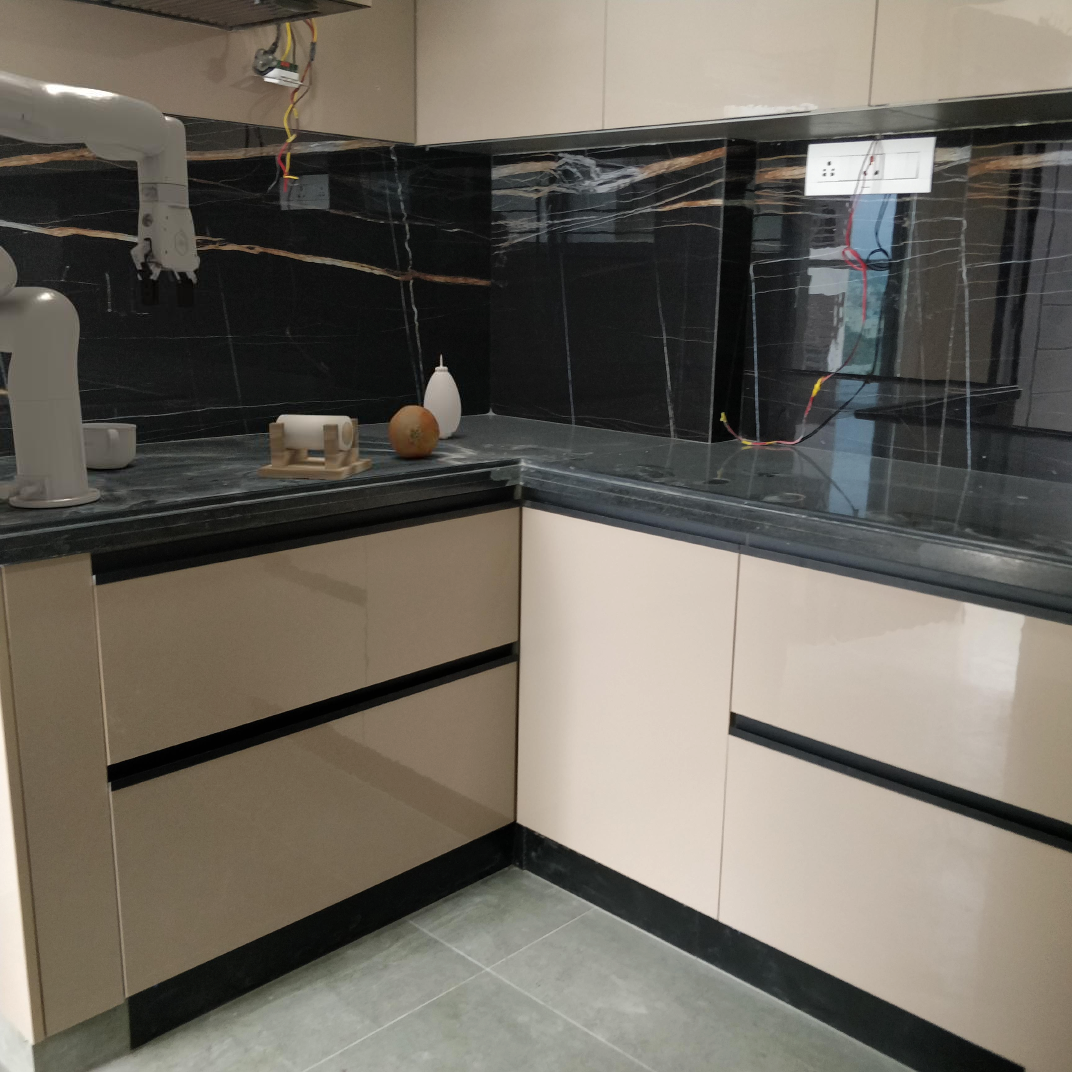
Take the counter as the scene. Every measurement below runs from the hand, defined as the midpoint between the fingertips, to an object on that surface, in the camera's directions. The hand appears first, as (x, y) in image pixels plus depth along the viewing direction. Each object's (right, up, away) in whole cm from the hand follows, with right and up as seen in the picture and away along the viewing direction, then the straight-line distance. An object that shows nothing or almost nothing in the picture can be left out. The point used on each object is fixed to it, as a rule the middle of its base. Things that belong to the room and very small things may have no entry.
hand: (169, 306), depth 175 cm
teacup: (-17, -26, +18) cm, 36 cm away
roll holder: (+22, -27, +12) cm, 36 cm away
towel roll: (+22, -20, +11) cm, 31 cm away
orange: (+37, -23, +29) cm, 52 cm away
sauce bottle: (+40, -17, +57) cm, 72 cm away
